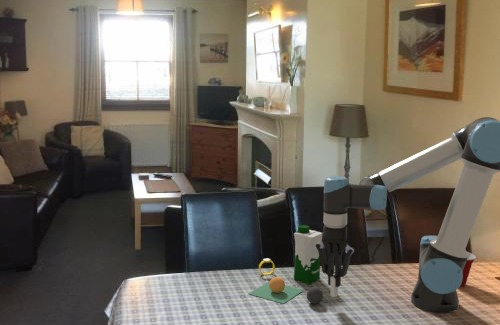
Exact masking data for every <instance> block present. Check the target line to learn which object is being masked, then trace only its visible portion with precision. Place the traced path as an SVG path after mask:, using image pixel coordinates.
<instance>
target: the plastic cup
mask: <svg viewBox="0 0 500 325" xmlns="http://www.w3.org/2000/svg"><path fill="white" fill-rule="evenodd" d="M467 253H468V258H467V261H466V263H465V266H464V269H463V271H462V273H463V280H462V283H461V285H460V286H459V288H464V287H466V285H467V281H468V278H469V276H470V271H471V268H472V265H473V263H474V261H475V259H476V258H477V256H476V255H475V254H473V253H471V252H469V251H467Z"/></svg>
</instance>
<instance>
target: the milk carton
mask: <svg viewBox="0 0 500 325" xmlns="http://www.w3.org/2000/svg"><path fill="white" fill-rule="evenodd" d="M293 236H294V244H295V246H294V247H295V248H294V250H295V251H294V270H293V271H294V272H293V281H296V282H300V283H303V284H307V285H312V284H313V283H316V282H318V281H320V277H321V262H320V257H319V252H318V250H317V248H316V244H318V243H320V242H322V240H323V232H320V231H317V230H312V229H310V226H309V225H306V224H300V225H298V226H297V231H296V232H294V233H293Z"/></svg>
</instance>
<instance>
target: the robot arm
mask: <svg viewBox="0 0 500 325" xmlns="http://www.w3.org/2000/svg"><path fill="white" fill-rule="evenodd" d="M459 160H461V161H462V164H463V165H462V166H463V167H462V170H461V172H460V175H459V178H458V180H457V183H456V185H455V188H454V191H453V194H452V197H451V199H450V202H449V205H448V207H447V210H446V213H445V216H444V218H443V220H442V223H441V226H440V229H439V231H438V234H437V235H423V236H422V237H421V239H420V243H419V246H420V247H419V248H420V249H419V260H418V263H419V264H418V273H417V274H418V277H417V281H416V284H415V286H413V287H414V288H413V290H412V292H411V299H410V300H411V304H412V305H413V306H414V307H417V308H419V309H421V310H423V311H426V312H431V313H438V314H439V313H440V314H445V313H448V314H449V313H453V312H455V311H456V312H457V310H458V309H459V306H460V304H459V303H460V300H459V295H458V291H457V290H458V289H459V288H460V287H459V286H460V285H461V283H462V280H463V273H462V271H463V269H464V266H465V263H466V261H467V258H468V253H467V252H468V251H467V250H466V248H467V245H468V243H469V240H470V238H471V234H472V233H473V230H474V227H475V224H476V221H477V219H478V216H479V214H480V212H481V209H482V206H483V203H484V201H485V197H486V196H487V193H488V190H489V188H490V185H491V183H492V179H493V177H494V176H495V175H496V174H497V173H499V172H500V120H498V119H496V118H493V117H490V116H487V117H486V116H484V117H480V118H477V119H475V120H473V121H472V122H469V123H468V124H467V125H465V126H463V127H461V128H459V129H458V130H456V131H453V132H452V133H451V136H450V137H448V138H447V139H444V140H442V141H440V142H439V143H435V144H434V145H432V146H430V147H428V148H426V149H424V150H421V151H419V152H417V153H416V154H413V155H412V156H409V157H407V158H405V159H402V160H401V161H398V162H397V163H394V164H393V165H391V166H389V167H387V168H385V169H382V170H380V171H379V172H376V173H375V174H372V175H368V176H365V177H363V178H362V179H361V180H360V182H359V184H353V183H349V179H348V178H347V177H345V176H337V175H334V176H332V175H331V176H329V177H326V178H325V179H324V184H323V218H322V219H323V221H322V222H323V224H324V225H323V227H322V229H323V231H322V233H323V234H322V241H321V242H320V243H318V244H316V248H317V250H318V252H319V257H320V267H321V271H322V273H323V274H326V275H327V284H328V286H330V289H329V290H330V291H329V293H330V295H329V296H330V297H332V298H335V297H337V296H338V295H339V287H340V286H341V283H342V278H344V276H346V275H347V273H348V270H349V266H350V263H351V258H352V255H353V253H354V252H356V250H355V248H354V247H351V246H350V245H349V242H348V226H347V225H348V208H349V209H361V210H362V209H364V210H365V209H366V210H372V211H375V210H385V209H386V208H387V196H388V194H389V193H390V192H393V191H395V190H398V189H400V188H401V187H403V186H405V185H408V184H410V183H412V182H414V181H417V180H419V179H421V178H424V177H425V176H427V175H429V174H432V173H434V172H435V171H436V172H437V170H441V169H442V168H445V167H446V166H449V165H451V164H453V163H455V162H457V161H459ZM344 251H345V255H344V258H342V256H343V252H344ZM342 261H343V262H342Z"/></svg>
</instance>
